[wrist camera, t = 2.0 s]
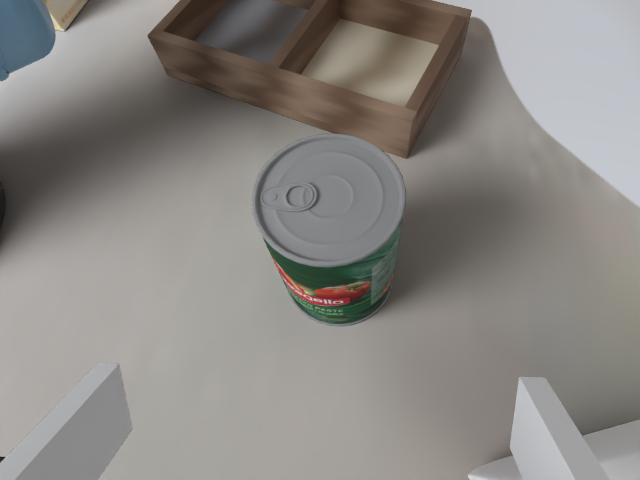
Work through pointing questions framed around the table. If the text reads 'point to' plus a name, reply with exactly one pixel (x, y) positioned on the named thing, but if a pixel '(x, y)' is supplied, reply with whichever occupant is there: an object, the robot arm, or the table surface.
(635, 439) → the cable organizer
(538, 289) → the table surface
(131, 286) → the table surface
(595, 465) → the robot arm
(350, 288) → the canned tomato
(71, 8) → the coffeecake box
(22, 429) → the table surface
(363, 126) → the slot caddy
